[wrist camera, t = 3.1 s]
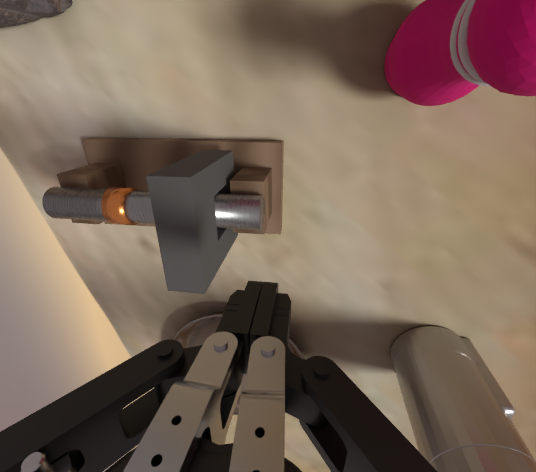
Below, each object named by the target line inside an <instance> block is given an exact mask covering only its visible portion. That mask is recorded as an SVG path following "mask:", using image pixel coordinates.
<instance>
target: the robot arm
mask: <svg viewBox="0 0 536 472" xmlns="http://www.w3.org/2000/svg"><path fill="white" fill-rule="evenodd" d="M290 316H291V300H290V298H289V296H288V294H281V293H278V283H271V282H257V281H248V283H247V286H246V288H245V291H244V290H237V291H236V292H234V293H233V294H232V295H231V296H230V299H229V301H228V303H227V306H226V308H225V311H224V313H223V316H222V318H221V320H220V323H219V325H218V328H217V330H216V333H214V334H212V335H210V336H209V337H208V338H207V339H206V340H205V342H204V344H202V345H199V346H195V347H189V348H183V346H182V344H181V343H180V342H179V341H177V340H164V341H161V342H159V343H157V344H155V345H153V346H151V347H150V348H148V349H146V350H144V351H143V352H141V353H139V354H137V355H136V356H134V357H132V358H130V359H128V360H127V361H125V362H123V363H121V364H120V365H118V366H116V367H115V368H113V369H111V370H109V371H107V372H105V373H104V374H102V375H100V376H98V377H97V378H95V379H93V380H91V381H90V382H88V383H86V384H84V385H83V386H81V387H79V388H77V389H75V390H74V391H72V392H70V393H68V394H66V395H65V396H63V397H61V398H59V399H58V400H56V401H54V402H52V403H51V404H49V405H47V406H46V407H43V408H42V409H40V410H38V411H36V412H35V413H33V414H31V415H29V416H28V417H26V418H24V419H22V420H21V421H19V422H17V423H15V424H13V425H12V426H10V427H8V428H6V429H5V430H3V431H1V432H0V472H102V471H104V470H105V469H106V468H108V467H109V466H110V465H112V464H113V463H114V462H116V461H117V460H118V459H119V458H121V457H122V456H123V455H125V454H126V453H127V452H129V451H130V450H131V449H133V448H134V447H135V446H137V445H138V444H139V445H138V446H137V447H136V448H135V449H133V450H132V451H130V452H129V453H127V454H126V455H125V456H124V457H122V458H121V459H120V460H119V461H117V462H116V463H115V464H114V465H112V466H111V467H110V468H109V469H107V470H106V471H105V472H302V471H301V470H300V469H299V468H298V467H297V466H296V465H294V464H293V463H292V462H291V461H289V460H288V459H286V458H284V439H285V412H286V413H288V414H290V415H292V416H294V417H296V418H298V419H299V422H300V424H301V426H302V428H303V429H304V431H305V432H306V434H307V435H308V437H309V438H310V440H311V441H312V443H313V444H314V446H315V447H316V449H317V451H318V452H319V454H320V455H321V457H322V458H323V460H324V461H325V463H326V464H327V466H328V467H329V469H330V470H331V472H536V461H535V459H534V458H533V456H532V454H531V453H530V451H529V450H528V448H527V446H526V445H525V443H524V441H523V440H522V438H521V436H520V435H519V433H518V431H517V430H516V428H515V426H514V425H513V423H512V421H511V419H512V417H513V415H514V413H515V411H514V408H513V406H512V404H511V403H510V401H509V400H508V398H507V397H506V395H505V394H504V392H503V390H502V389H501V387H500V386H499V384H498V383H497V381H496V380H495V378H494V377H493V375H492V373H491V372H490V370H489V369H488V367H487V366H486V364H485V363H484V361H483V359H482V358H481V356H480V355H479V353H478V352H477V350H476V349H475V347H474V346H473V344H472V342H471V341H470V339H466V338H461V337H459V336H458V335H457V334H455V333H454V332H452V331H450V330H448V329H445V328H442V327H435V326H423V327H418V328H414V329H411V330H409V331H407V332H405V333H403V334H402V335H400V336H399V337H398V338H397V339H396V340H395V342H394V343H393V345H392V347H391V353H390V354H391V358H392V362H393V366H394V370H395V373H396V375H397V379H398V382H399V386H400V389H401V392H402V396H403V399H404V402H405V406H406V409H407V413H408V416H409V419H410V423H411V426H412V429H413V433H414V436H415V439H416V443H417V446H418V450H419V451H418V450H417V449H416V448H415V447H414V446H413V445H412V444H411V443H410V442H409V441H408V440H407V439H406V438H405V437H404V436H403V435H402V433H401V432H400V431H399V430H398V429H397V428H396V427H395V426H394V425H393V424H392V423H391V422H390V421H389V420H388V419H387V418H386V417H385V415H384V414H383V413H382V412H381V411H380V410H379V409H378V408H377V407H376V406H375V405H374V404H373V403H372V402H371V401H370V400H369V399H368V397H367V396H366V395H365V394H364V393H363V392H362V391H361V390H360V389H359V388H358V387H357V386H356V385H355V384H354V383H353V382H352V381H351V380H350V378H349V377H348V376H347V375H346V374H345V373H344V372H343V371H342V370H341V369H340V368H339V367H338V366H337V365H336V364H335V363H334V362H333V361H332V360H330V359H329V358H326V357H323V356H313V357H310V358H308V359H307V360H305V359H302V358H300V357H298V356H296V355H295V354H293V353H292V352H291V351H290V349H289V347H288V342H289V332H290ZM243 374H247V376H246V382H245V389H244V392H242V394H241V399H240V405H239V411H238V418H237V424H236V430H235V437H234V443H231V444H225V439H226V434H227V431H228V428H229V425H230V422H231V419H232V416H233V413H234V410H235V407H236V403H237V400H238V397H239V394H240V391H241V382H242V378H243ZM152 388H154V389H152ZM151 389H152V390H151ZM149 390H151V391H149ZM148 391H149V392H148ZM146 392H148V393H146ZM145 393H146V394H145ZM143 394H145V395H143ZM141 395H143V396H142V397H140V396H141ZM138 397H140V398H139V399H137V398H138ZM135 399H137V400H136V401H134V400H135ZM132 401H134V402H133V403H131V402H132ZM129 403H131V404H130V405H128V404H129ZM126 405H128V406H127V407H126V408H124V407H125V406H126ZM123 408H124V409H123Z"/></svg>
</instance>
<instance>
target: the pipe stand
mask: <svg viewBox="0 0 536 472" xmlns="http://www.w3.org/2000/svg"><path fill="white" fill-rule="evenodd" d="M82 142H83V146H84V149H85V153H86V156H87V160H88V164H89V165H87V166H84V167H80V168H77V169H73V170H70V171H67V172H63V173H60V174H57V176H58V179H59V183H60V186H61V187H70V188H94V189H109V188H111V187H122V188H136V189H138V190H141V191H149V189H148V184H147V178H146V176H147V175H149V174H151V173H153V172H156V171H158V170H160V169H162V168H164V167H167V166H169V165H171V164H173V163H175V162H177V161H180V160H182V159H184V158H186V157H188V156H191V155H193V154H195V153H197V152H199V151H201V150H233V158H234V177H233V178H232V179H231V180H230V192H231V194H236V195H259V196H263V197H264V202H265V215H264V224H263V228H262V230H248V229H233V232H237V233H253V234H264V233H272V234H281V230H282V194H283V144H284V141H260V140H199V139H137V138H87V139H82ZM72 222H73V223H88V224H100V223H102V222H105V224H112V223H109V222H108V221H94V220H77V219H72ZM122 225H126V224H122ZM136 225H138V226H155V224H146V223H138V224H136ZM155 227H156V226H155Z"/></svg>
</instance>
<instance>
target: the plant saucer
mask: <svg viewBox="0 0 536 472" xmlns="http://www.w3.org/2000/svg"><path fill="white" fill-rule="evenodd" d="M222 316H223V313H216V314H211V315H207V316H204V317H201V318H198V319H196V320H194V321H192V322H190V323H188V324H187V325H185V326H184V327H183V328H182V329H180V330H179V332H178V333H177V334H176V335H175V337H174V338H173V340H177V341H179V342H180V343H181V344H182V346H183V348H189V347H195V346H199V345H202V344H204V342H205V340H206V339H207V338H208V337H209V336H210V335H212V334H214V333H216V330H217V328H218V325H219V323H220V320H221V318H222ZM288 347H289V349H290V351H291V352H292V353H293V354H295V355H296V356H298V357H300V358H302V359H304V358H303V356H302V354H301V352H300V351H299V349H298V348H297V346H296V345H295V344H294V342H293V341H292V340H291V339H290V338H289V342H288ZM246 376H247V374H243V378H242V382H241V391H240V394H239V397H238V400H237V403H236V407H235V410H234V413H233V415H238V411H239V405H240V399H241V394H242V392H244V389H245V382H246Z"/></svg>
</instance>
